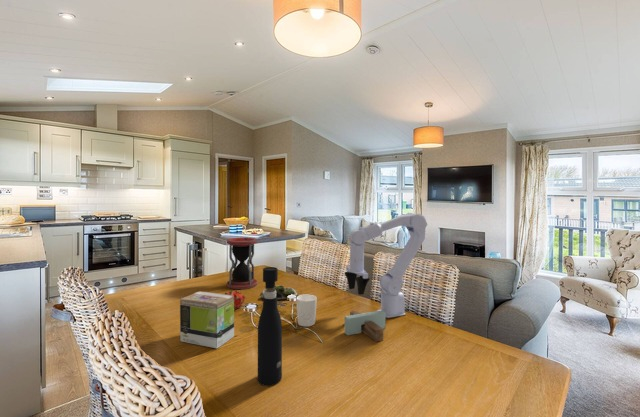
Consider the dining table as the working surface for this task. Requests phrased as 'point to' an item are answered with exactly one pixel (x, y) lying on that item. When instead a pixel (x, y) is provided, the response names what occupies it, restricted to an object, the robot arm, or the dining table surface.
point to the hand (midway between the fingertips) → (356, 291)
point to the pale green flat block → (363, 321)
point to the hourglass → (241, 263)
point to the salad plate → (282, 292)
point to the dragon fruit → (237, 298)
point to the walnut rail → (371, 329)
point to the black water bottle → (269, 333)
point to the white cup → (306, 309)
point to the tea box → (207, 319)
